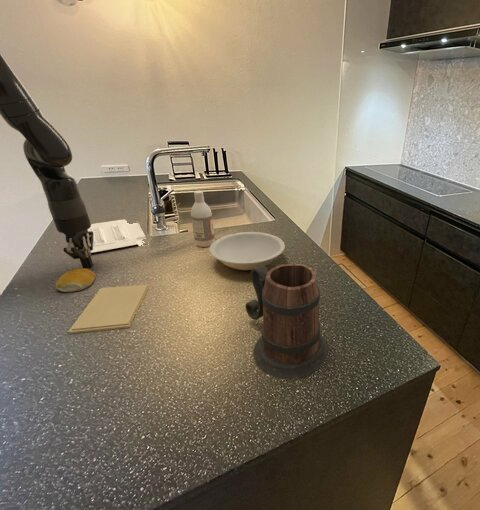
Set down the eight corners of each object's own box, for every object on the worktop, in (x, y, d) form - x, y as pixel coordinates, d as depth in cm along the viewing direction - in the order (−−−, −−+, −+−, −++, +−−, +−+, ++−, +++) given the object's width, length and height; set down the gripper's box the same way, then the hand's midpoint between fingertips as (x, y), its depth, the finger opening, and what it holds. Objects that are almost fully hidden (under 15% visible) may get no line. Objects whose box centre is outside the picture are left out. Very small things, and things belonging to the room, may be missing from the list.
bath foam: (213, 247, 112) (207, 194, 103) (193, 247, 111) (185, 194, 102) (216, 239, 119) (210, 189, 110) (197, 239, 117) (190, 188, 108)
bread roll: (99, 274, 91) (95, 262, 90) (89, 290, 84) (85, 278, 82) (64, 277, 88) (60, 265, 87) (52, 294, 81) (46, 282, 79)
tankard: (342, 347, 72) (349, 274, 63) (290, 393, 60) (290, 311, 51) (275, 305, 84) (273, 240, 75) (220, 336, 72) (210, 263, 63)
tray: (78, 258, 99) (74, 247, 97) (74, 231, 118) (70, 222, 116) (149, 244, 111) (147, 235, 109) (135, 222, 130) (133, 214, 128)
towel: (68, 334, 69) (67, 330, 69) (100, 290, 85) (99, 287, 84) (128, 327, 72) (128, 324, 72) (149, 286, 88) (148, 283, 87)
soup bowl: (267, 243, 119) (266, 227, 116) (297, 270, 103) (297, 252, 100) (202, 256, 106) (200, 239, 103) (225, 289, 89) (223, 270, 86)
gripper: (65, 205, 89) (83, 258, 97) (39, 222, 78) (62, 279, 86) (95, 205, 91) (111, 256, 99) (74, 221, 80) (93, 277, 88)
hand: (88, 267), depth 92 cm, fingers closed
